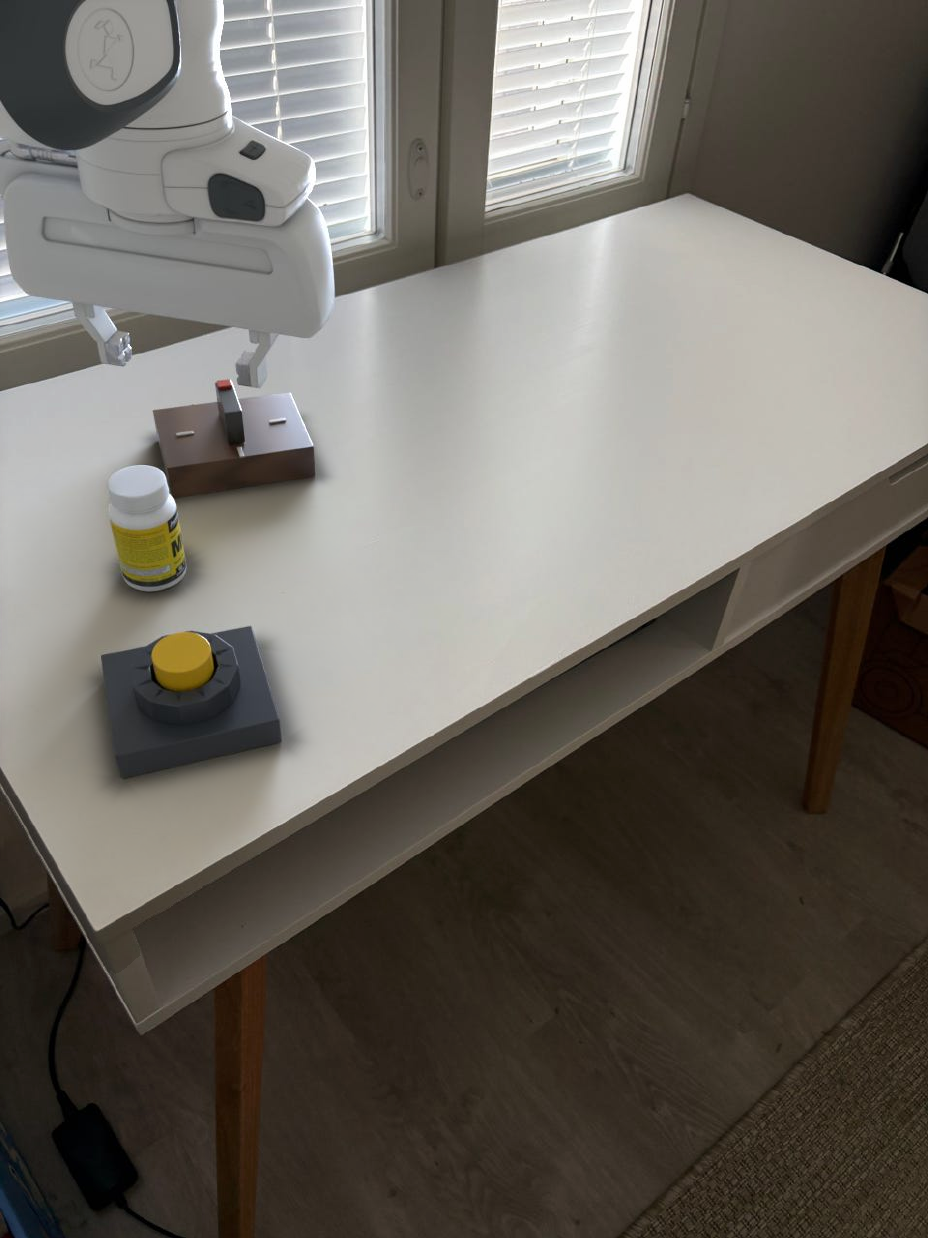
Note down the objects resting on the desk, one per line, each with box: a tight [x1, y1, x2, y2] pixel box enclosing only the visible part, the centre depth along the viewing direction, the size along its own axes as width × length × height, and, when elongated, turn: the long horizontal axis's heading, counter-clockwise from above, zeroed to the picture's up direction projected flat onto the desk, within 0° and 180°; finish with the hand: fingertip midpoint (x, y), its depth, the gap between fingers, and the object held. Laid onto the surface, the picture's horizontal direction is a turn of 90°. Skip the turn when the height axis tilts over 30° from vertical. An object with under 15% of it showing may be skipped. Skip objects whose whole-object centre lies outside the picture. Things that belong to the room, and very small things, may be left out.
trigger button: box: [151, 631, 214, 692], centre depth 63 cm, size 4×4×2 cm
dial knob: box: [214, 378, 245, 444], centre depth 84 cm, size 5×1×3 cm, turn 20°
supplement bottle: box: [107, 464, 187, 593], centre depth 73 cm, size 5×5×8 cm
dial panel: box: [152, 391, 316, 499], centre depth 86 cm, size 12×9×3 cm
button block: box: [100, 625, 283, 779], centre depth 65 cm, size 10×9×4 cm
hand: (184, 371), depth 68 cm, fingers open, 8 cm apart
